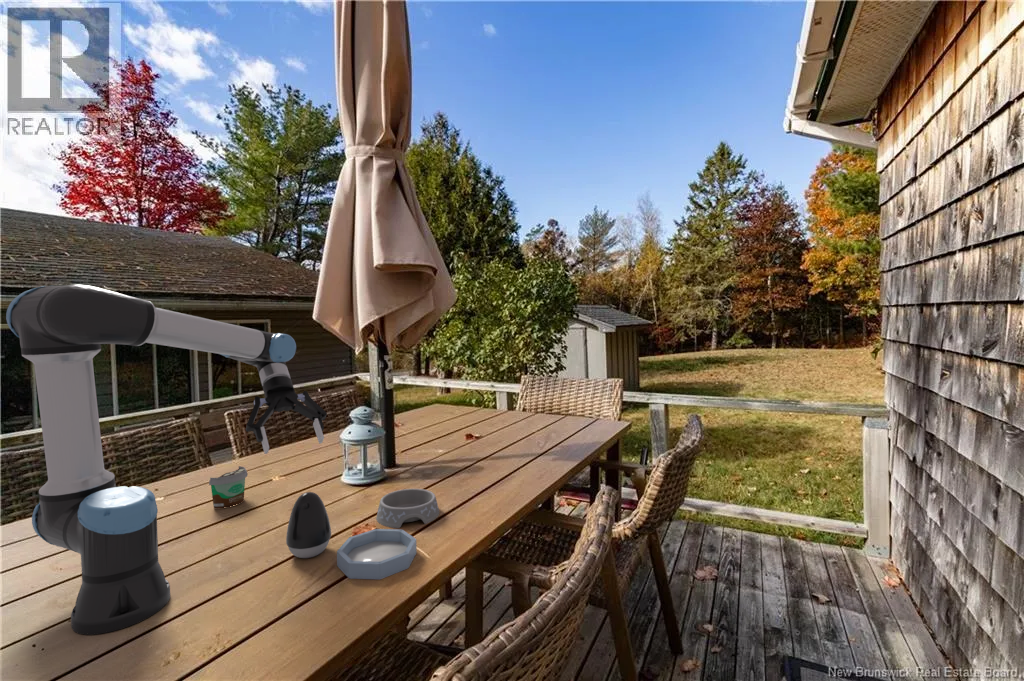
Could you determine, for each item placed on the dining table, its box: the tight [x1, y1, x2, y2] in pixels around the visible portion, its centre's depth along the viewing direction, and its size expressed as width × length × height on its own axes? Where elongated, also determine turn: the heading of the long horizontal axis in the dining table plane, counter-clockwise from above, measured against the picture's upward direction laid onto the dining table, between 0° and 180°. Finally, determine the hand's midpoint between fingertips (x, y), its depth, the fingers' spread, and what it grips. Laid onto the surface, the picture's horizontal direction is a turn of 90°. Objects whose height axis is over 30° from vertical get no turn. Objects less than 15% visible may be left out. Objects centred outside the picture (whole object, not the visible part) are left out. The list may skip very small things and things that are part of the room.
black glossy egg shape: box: [285, 491, 332, 559], centre depth 115 cm, size 10×10×15 cm
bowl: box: [336, 528, 417, 580], centre depth 112 cm, size 17×17×4 cm
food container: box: [208, 465, 248, 509], centre depth 146 cm, size 12×6×10 cm, turn 168°
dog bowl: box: [375, 488, 440, 529], centre depth 138 cm, size 17×18×5 cm
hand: (295, 445), depth 123 cm, fingers open, 13 cm apart
